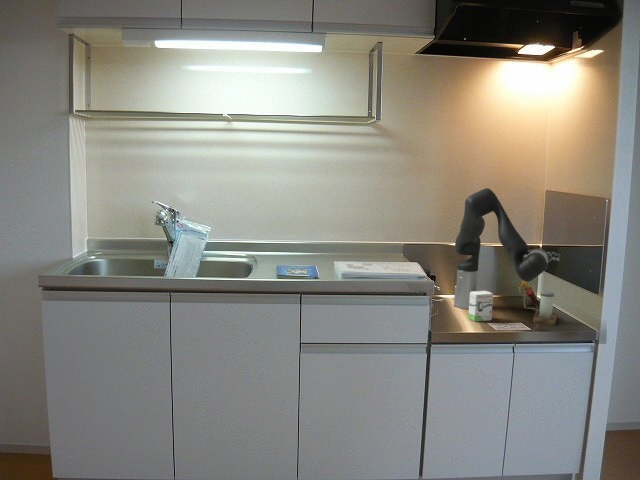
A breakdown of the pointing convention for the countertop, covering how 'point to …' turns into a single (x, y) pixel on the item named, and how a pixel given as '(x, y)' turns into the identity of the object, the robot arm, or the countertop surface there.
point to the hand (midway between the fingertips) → (542, 253)
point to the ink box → (480, 306)
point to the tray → (545, 321)
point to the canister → (546, 305)
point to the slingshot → (529, 295)
